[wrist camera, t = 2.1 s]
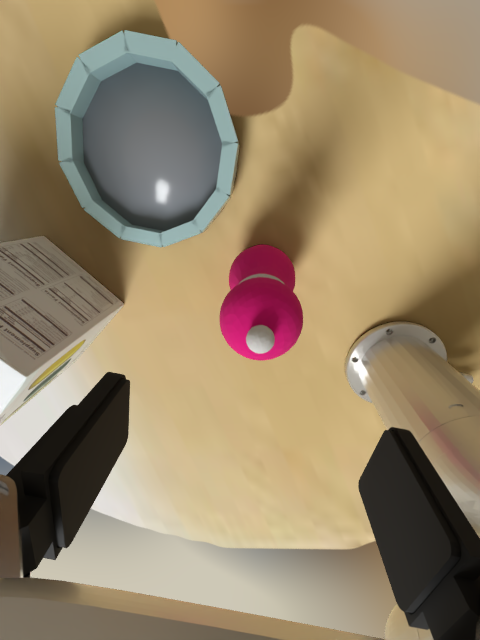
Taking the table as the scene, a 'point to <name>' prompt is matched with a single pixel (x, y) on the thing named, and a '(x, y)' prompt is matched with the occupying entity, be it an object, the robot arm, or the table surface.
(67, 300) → the supplement box
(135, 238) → the round tray
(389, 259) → the table surface
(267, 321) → the pepper mill
